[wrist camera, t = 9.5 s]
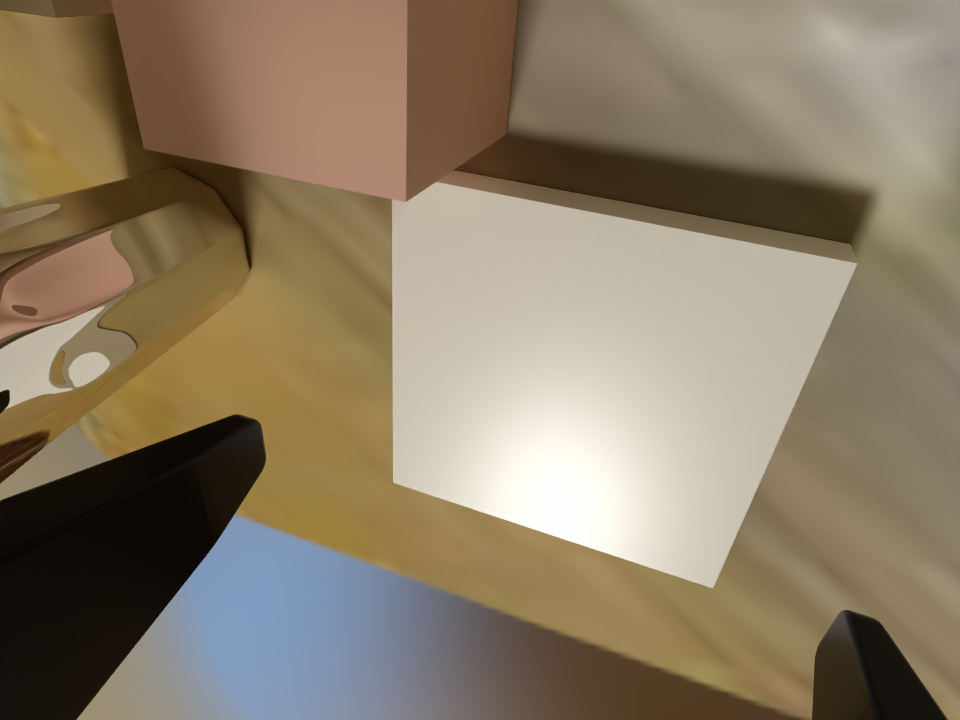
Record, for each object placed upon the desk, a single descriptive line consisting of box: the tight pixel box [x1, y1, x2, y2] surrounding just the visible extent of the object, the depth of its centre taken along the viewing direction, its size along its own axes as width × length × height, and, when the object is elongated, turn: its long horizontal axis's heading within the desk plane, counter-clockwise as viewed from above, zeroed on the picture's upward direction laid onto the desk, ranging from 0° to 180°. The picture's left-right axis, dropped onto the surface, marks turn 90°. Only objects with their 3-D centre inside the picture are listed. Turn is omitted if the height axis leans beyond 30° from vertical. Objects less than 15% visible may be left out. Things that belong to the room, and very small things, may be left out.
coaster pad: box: [392, 170, 857, 588], centre depth 12 cm, size 8×8×1 cm
